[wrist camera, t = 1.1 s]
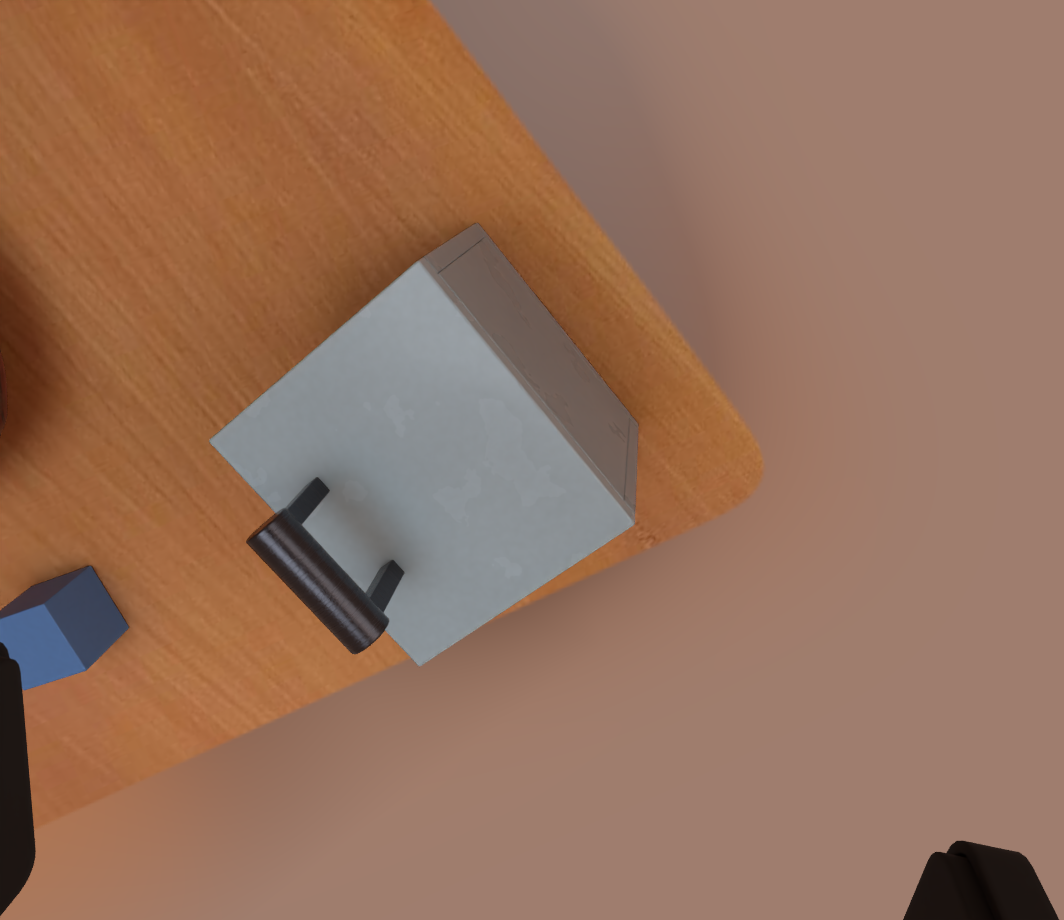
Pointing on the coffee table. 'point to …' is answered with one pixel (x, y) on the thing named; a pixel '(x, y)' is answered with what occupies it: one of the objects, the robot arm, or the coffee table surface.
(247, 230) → the coffee table surface
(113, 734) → the coffee table surface
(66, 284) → the coffee table surface
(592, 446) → the freezer
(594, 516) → the freezer lid
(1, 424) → the bowl
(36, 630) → the blue cube
